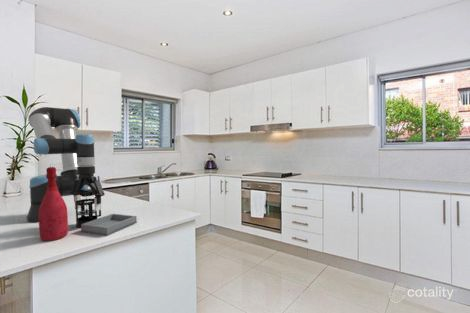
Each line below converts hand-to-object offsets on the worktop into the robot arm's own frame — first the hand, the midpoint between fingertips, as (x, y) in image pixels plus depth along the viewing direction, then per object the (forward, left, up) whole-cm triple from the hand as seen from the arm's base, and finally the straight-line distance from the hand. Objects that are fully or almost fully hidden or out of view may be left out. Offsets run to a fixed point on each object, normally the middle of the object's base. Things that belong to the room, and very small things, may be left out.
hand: (87, 209), depth 121 cm
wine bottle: (+1, -17, -8) cm, 19 cm away
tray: (+14, 0, -7) cm, 16 cm away
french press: (0, 0, -8) cm, 8 cm away
